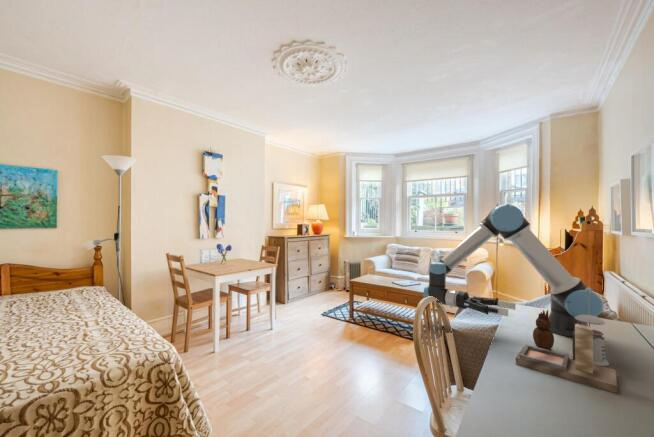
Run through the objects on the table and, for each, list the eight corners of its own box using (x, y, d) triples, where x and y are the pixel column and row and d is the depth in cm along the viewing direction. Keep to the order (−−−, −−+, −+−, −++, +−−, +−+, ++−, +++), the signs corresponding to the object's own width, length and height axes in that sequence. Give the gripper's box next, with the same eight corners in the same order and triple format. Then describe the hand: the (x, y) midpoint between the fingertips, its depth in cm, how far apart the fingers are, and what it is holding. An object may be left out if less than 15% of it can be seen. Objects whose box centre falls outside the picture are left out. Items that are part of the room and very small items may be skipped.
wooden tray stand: (515, 363, 96) (515, 318, 97) (523, 352, 106) (522, 311, 106) (617, 393, 80) (616, 338, 80) (615, 376, 89) (614, 327, 90)
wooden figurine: (557, 352, 106) (556, 311, 106) (539, 351, 107) (539, 310, 107) (547, 345, 112) (546, 306, 113) (530, 343, 113) (530, 305, 114)
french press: (579, 362, 98) (578, 289, 99) (564, 349, 109) (563, 283, 110) (616, 367, 94) (615, 291, 95) (597, 353, 105) (596, 285, 106)
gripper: (466, 302, 140) (517, 312, 126) (447, 312, 122) (504, 325, 108) (467, 287, 141) (518, 295, 126) (447, 295, 123) (504, 305, 108)
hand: (511, 309), depth 117 cm, fingers open, 13 cm apart
